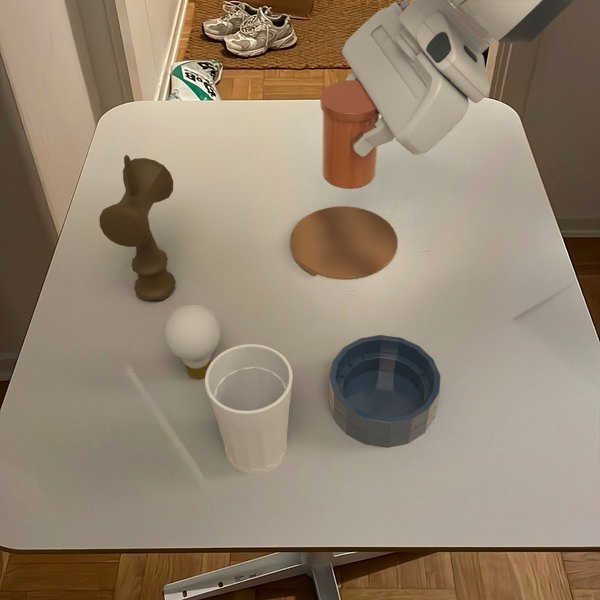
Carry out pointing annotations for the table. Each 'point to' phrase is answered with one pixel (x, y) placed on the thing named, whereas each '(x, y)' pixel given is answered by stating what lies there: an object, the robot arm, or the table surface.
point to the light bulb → (193, 337)
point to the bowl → (383, 390)
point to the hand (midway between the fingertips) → (345, 131)
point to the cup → (251, 405)
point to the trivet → (343, 243)
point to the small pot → (347, 134)
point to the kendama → (141, 225)
